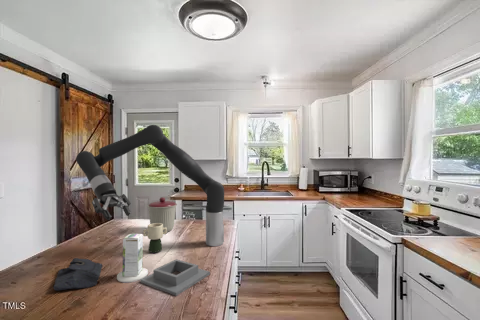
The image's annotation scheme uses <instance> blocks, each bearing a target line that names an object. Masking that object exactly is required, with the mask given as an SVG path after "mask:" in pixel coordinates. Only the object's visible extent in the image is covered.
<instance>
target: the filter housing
mask: <svg viewBox="0 0 480 320" xmlns="http://www.w3.org/2000/svg"><path fill="white" fill-rule="evenodd" d="M152 272H153V273H151V274H148V275H147V276H146V277H145V278H143V279H140V280H139V282H140V283H141V284H144V285H146V286H149V287H152V288H154V289H157V290H160V291H163V292H166V293H168V294H170V295H173V296H175V297H177V296H179V295H180V294H182V293H183V292H185V291H186V290H188V289H189V288H191V287H193V286H194V285H195V284H197V283H199V282H201V281H202V280H203V279H205V278H206V277H208V276H209V275H211V271H209V270H205V269H202V268H199V265H198V264H195V263H191V262H188V261H184V260H181V259H177V258H176V259H174V260H172V261H170V262H168V263H165V264H163V265H161V266H159V267H157V268H155V269H153V271H152ZM175 272H180V273H178V274H175ZM173 273H174V274H173Z"/></svg>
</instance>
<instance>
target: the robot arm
mask: <svg viewBox="0 0 480 320" xmlns="http://www.w3.org/2000/svg"><path fill="white" fill-rule="evenodd" d="M146 145H151V146H152V147H154V148H155V149H157V150H158V151H159V152H160V153H162V154H163V156H164V157H166V158H167V160H168V161H169V162H170V163H171V164H172V165H173V166H174V167H175V169H177V170H178V171H180V172H181V173H182V174H183V175H185V176H186V177H187V178H188V179H190V180H191V181H192V182H194V183H195V184H196V185H197V186H198V187H200V188H201V190H202V191H203V192H204V193H205V194H206V206H205V245H207V246H209V247H218V246H222V245H223V244H224V242H225V225H224V206H225V188H224V185H223V184H222V183H221V182H219V181H217V180H215V179H214V178H212V177H211V176H209V175H208V174H207V173H206V172H205V171H204V170H203V168H202V167H201V166H200V164H199V163H198V162H197V161H196V160H195V158H193V157H192V156H190V155H189V154H188V153H187V152H186V151H185V150H183V149H182V148H180V146H177V145H176V144H175V143H173V142H172V141H171V140H170V139H169V138H168V137H167V136H166V135H165V134H164V132H163V129H162V128H161V127H160V126H158V125H156V124H150V125H147V126H146V127H144V128H143V129H141V130H140V131H138V132H136V133H134V134H133V135H130V136H128V137H125V138H123V139H119V140H117V141H114V142H112V143H109V144H107V145H105V146H102V147H100V148H98V154H97V155H94V154H93V153H92V152H90V151H88V150H83V151H80V152H78V154H77V155H76V159H75V161H76V163H77V165H78V166H79V168H80V170H81V171H82V172H83V174H84V175H85V176H86V179H87V180H88V182H89V184H90V187H91V189H92V191H93V192H94V195H95V196H96V197H94V198H93V200H92V202H91V204H92V207H93V209H94V211H95V213H96V214H102V216H103V217H104V219H105V220H107V221H110V220H111V218H112V215H111V214H110V212H109V210H108V208H112V207H114V208H115V207H117V208H120V209H122V211H123V212H124V214H125V216H126V217H129V216H130V214H131V209H130V208H129V206H130V205H131V201H130V200H129V198H128V197H127V196H126V194H124V193H123V194H122V195H118V194H117V191H116V188H115V187H114V184H113V183H112V182H111V180H110V179H109V177H107V174H106V173H105V171H104V170H103V169H102V168H101V167H103V166H104V165H106V164H107V163H109V162H110V161H113V160H114V159H117V158H120V157H122V156H123V155H125V154H127V153H129V152H131V151H134V150H135V149H137V148H140V147H143V146H146ZM101 205H102V206H101Z"/></svg>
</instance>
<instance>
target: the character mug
mask: <svg viewBox="0 0 480 320" xmlns="http://www.w3.org/2000/svg"><path fill="white" fill-rule="evenodd" d="M164 229H165V232H163V230H164ZM146 232H147V233H146ZM142 233H143V237H147V239H148V240H149V244H148V252H150V253H159V252H161V251H162V250H163V245H162V238H163V235H166V234H167V233H168V232H167V228H166V227H165V228H163V224H161V223H153V224H150V223H149V224H147V228H145V229H143V231H142Z"/></svg>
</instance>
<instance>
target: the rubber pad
mask: <svg viewBox="0 0 480 320" xmlns="http://www.w3.org/2000/svg"><path fill="white" fill-rule="evenodd" d="M147 276H149V269H147V268H145V267H142V271H141V272H140V273H139V275H138V276H122V271H119V273H118V274H117V275H116V280H117V281H118V282H120V283H125V284H126V283H128V284H129V283H134V282H140V279H143V278H145V277H147Z"/></svg>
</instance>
